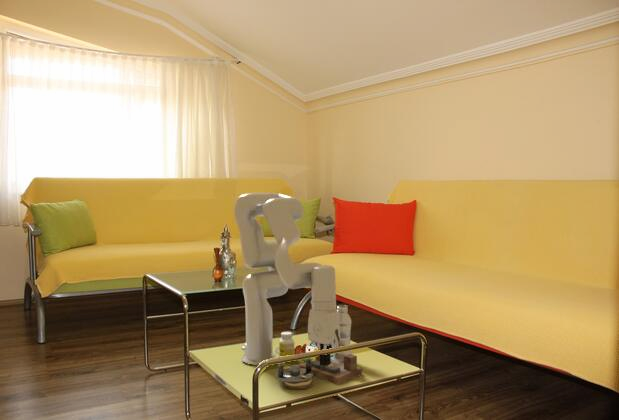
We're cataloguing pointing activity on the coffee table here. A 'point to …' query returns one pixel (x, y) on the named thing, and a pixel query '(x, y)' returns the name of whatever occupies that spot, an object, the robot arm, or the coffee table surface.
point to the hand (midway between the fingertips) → (325, 364)
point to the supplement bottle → (286, 344)
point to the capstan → (296, 376)
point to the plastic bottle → (343, 332)
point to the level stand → (335, 369)
